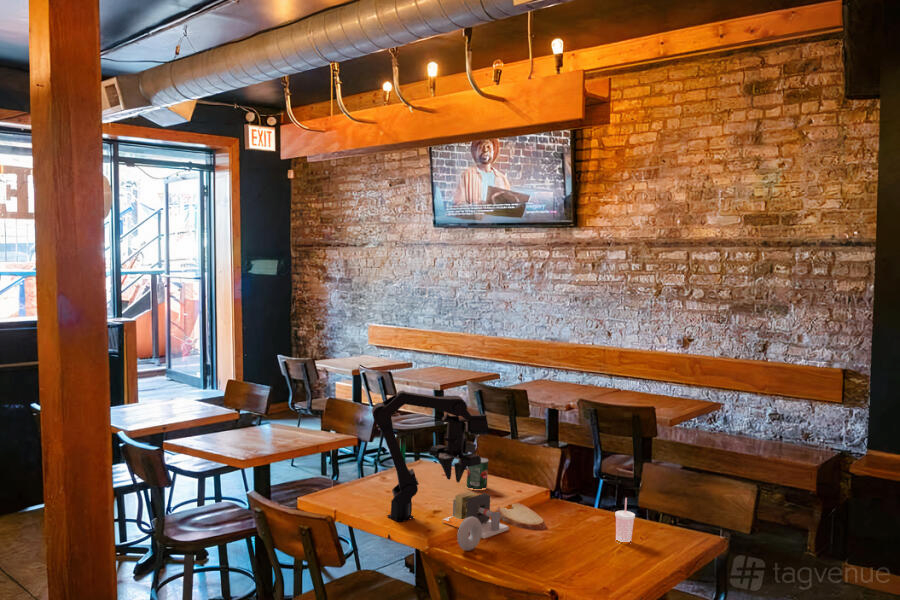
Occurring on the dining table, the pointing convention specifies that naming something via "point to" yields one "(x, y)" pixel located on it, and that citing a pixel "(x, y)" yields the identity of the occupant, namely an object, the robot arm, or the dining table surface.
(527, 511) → the bread slice
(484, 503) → the dark gray square plate
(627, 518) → the beverage cup
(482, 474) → the canned tomato
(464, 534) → the grey wheel
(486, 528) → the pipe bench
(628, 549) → the dining table surface
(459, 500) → the olive brown square block
